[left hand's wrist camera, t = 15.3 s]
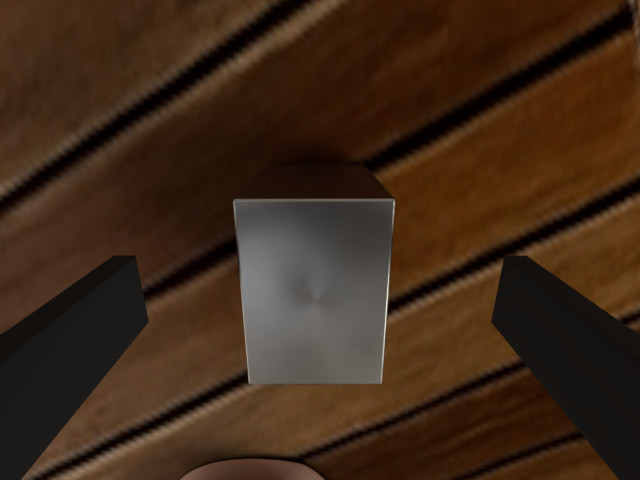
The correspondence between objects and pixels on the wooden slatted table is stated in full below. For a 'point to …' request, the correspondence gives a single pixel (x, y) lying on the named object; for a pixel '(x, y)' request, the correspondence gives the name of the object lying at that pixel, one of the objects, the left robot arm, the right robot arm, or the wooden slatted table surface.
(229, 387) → the wooden slatted table surface
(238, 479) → the anatomical model
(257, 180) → the block
